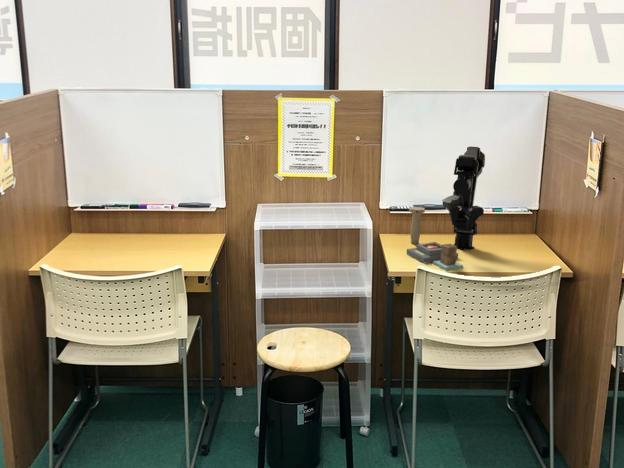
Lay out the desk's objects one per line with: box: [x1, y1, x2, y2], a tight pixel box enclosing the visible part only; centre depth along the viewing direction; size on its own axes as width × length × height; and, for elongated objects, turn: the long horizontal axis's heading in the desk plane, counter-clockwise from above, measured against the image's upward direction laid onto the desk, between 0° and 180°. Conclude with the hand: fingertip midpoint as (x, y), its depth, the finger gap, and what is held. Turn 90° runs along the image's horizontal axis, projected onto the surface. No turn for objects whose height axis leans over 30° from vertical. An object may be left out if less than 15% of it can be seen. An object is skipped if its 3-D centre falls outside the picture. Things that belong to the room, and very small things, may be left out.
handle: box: [408, 206, 426, 245], centre depth 280 cm, size 5×6×15 cm
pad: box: [432, 260, 464, 271], centre depth 255 cm, size 8×8×1 cm
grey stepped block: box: [406, 241, 459, 264], centre depth 266 cm, size 16×12×4 cm
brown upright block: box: [440, 243, 458, 265], centre depth 254 cm, size 4×4×7 cm
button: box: [427, 245, 438, 249], centre depth 266 cm, size 4×4×4 cm
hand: (460, 227), depth 262 cm, fingers open, 9 cm apart
